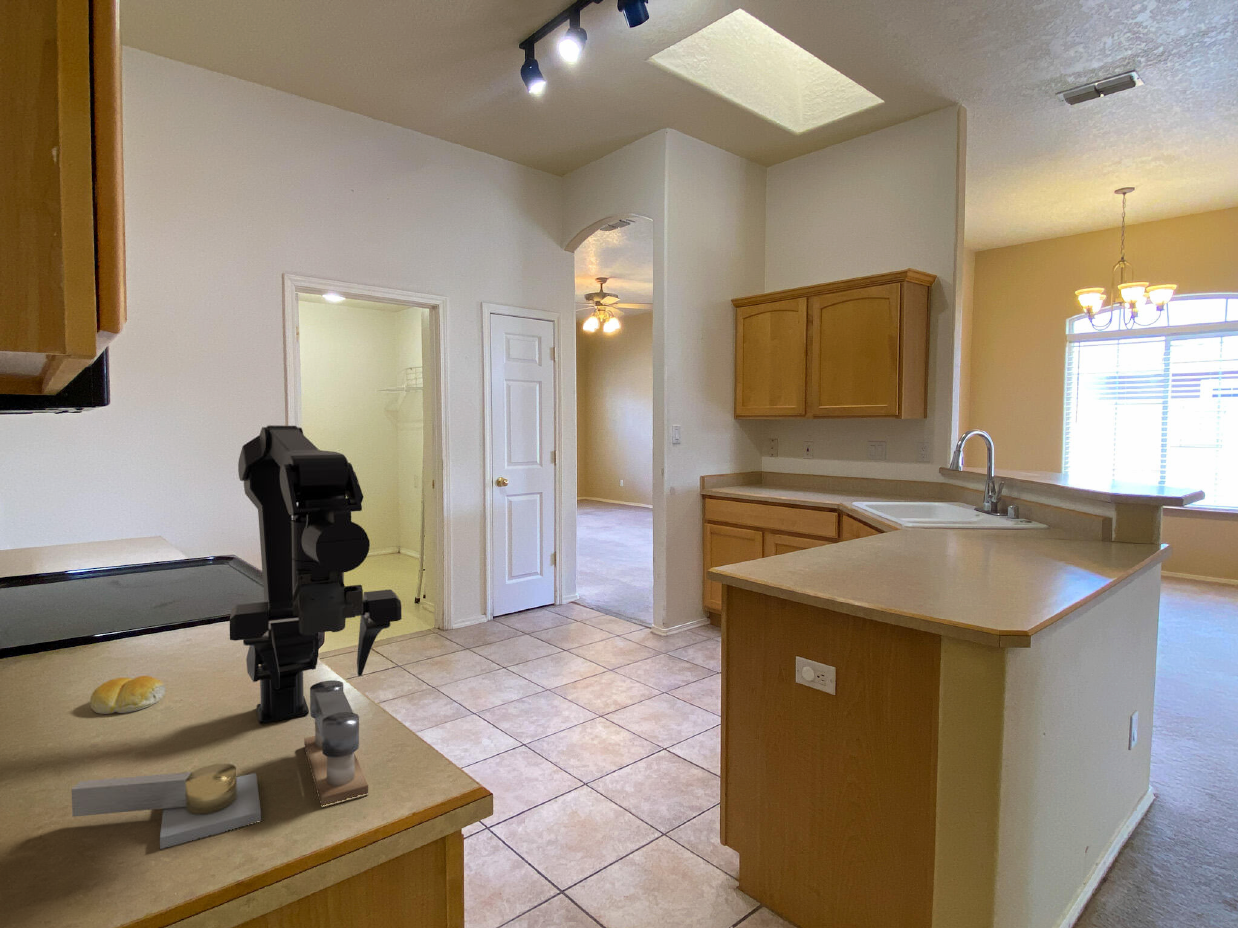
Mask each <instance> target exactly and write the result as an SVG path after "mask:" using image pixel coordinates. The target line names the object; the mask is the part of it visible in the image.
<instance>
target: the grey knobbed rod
mask: <svg viewBox="0 0 1238 928" xmlns="http://www.w3.org/2000/svg"><path fill="white" fill-rule="evenodd" d="M309 695H310V696H309V706H310V710H309V714H310V716H309V717H311V718H313V719H314V721H315V720H316V723H317V726H318V729H319V732H320V735H321V738H322V753H323V754H324V755H325V756H327V757H342V756H346V755H349V754H352V753H353V752H354V753H355V752H357V750H358V749H359V748H360V716H359V714H358V713H356V712H354V711H353V709H352V707H351V705H350V703H349V701H348V698H347V696H346V694H345V692H344V683H343V682H342V681H340V680H333V679H332V680H323V681H320V682H317V683H315V684H312V685H311V686H310V687H309Z"/></svg>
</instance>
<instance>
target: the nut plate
mask: <svg viewBox="0 0 1238 928" xmlns="http://www.w3.org/2000/svg"><path fill="white" fill-rule="evenodd" d="M260 803H261V802H260V794H259V787H258V778H257V773H256V772H254V773H250V774H245V775H240V776H238V777H237V797H236V799H235V800H234V801H233V802H232V803H231V804H230V805H228V806H226V807H224V808H222V809H220V810H217V811H214V812H210V813H204V814H194V813H190V812H188V811H187V810H186V806H184V807H173V808H162V809H163V810H162V818H161V826H160V834H159V835H160V836H159V845H160V846H159V847H160V850H163V849H166V847H167V848H170V847H173V846H174V847H175V846H177V845H181V844H184V843H188V841H189V842H192V840H193V841H195V840H199V839H198V838H200V839H203V837H204V838H207V837H210V836H209V835H211V836H213V835H214V836H215V835H219V834H221V833H224V832H225V831H226V832H229V831H228V830H230V831H233V830H236V829H235V828H237V829H239V828H238V827H241V826H244V827H246V826H245V825H248V824H251V823H255V822H257V821H261V822H262V809H261V804H260ZM255 824H256V823H255ZM248 826H249V825H248ZM241 828H242V827H241ZM232 829H233V830H232ZM226 832H225V833H226Z"/></svg>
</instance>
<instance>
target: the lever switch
mask: <svg viewBox="0 0 1238 928" xmlns="http://www.w3.org/2000/svg"><path fill="white" fill-rule="evenodd" d="M237 776H238V775H237V767H236V766H235V765H234V764H231V763H227V762H226V763H222V762H221V763H213V764H210V765H205V766H203V767H200V768H198V769H195V770H194V771H187V772H186V771H185V772H176V773H175V772H174V773H163V774H151V775H141V776H140V775H138V776H127V777H126V776H125V777H116V778H115V777H114V778H103V779H91V780H80V781H79V782H78V783H77V784H76V785H74V786H73V787H72V788H71V789H70V790H71V813H72V817H73V818H75V817H76V818H77V817H86V816H94V815H95V816H96V815H107V814H116V813H117V814H119V813H129V812H137V811H147V810H148V811H149V810H150V811H151V810H159V809H160V810H162V809H163V808H173V807H184V806H186V810H187V811H188V812H190V813H194V814H204V813H210V812H214V811H217V810H220V809H222V808H224V807H226V806H228V805H230V804H231V803H232V802H233V801H234V800H235V799H236V797H237Z"/></svg>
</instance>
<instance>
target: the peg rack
mask: <svg viewBox="0 0 1238 928" xmlns="http://www.w3.org/2000/svg"><path fill="white" fill-rule="evenodd" d="M314 726H315V727H314V731H315V732H314V733H315V734H314V735H313V736H308V737H304V739H303V744H304V745H305V747H304V750H305V749H306V751H305V753H306V752H307V754H306V757H307V756H308V758H307V761H308V760H309V761H308V764H309V763H310V765H309V767H310V766H311V768H310V771H311V770H312V772H311V775H312V774H313V776H312V778H313V777H314V779H313V781H314V780H315V783H314V785H315V784H316V786H315V789H316V788H317V790H316V792H317V791H318V793H317V795H318V794H319V797H318V799H319V798H320V800H319V802H320V801H321V804H320V806H321V805H322V806H323V805H326V804H330V803H335V802H337V801H342V800H346V799H347V798H352V797H357V796H358V795H363V794H367V793H368V794H369V784H368V782H367V779H366V778H365V775H364V772H363V770H362V768H361V765H360V763H359V761H358V758H357V756H356V753H355V752H353V753H352V754H349V755H346V756H342V757H327V756H325V755H324V754H323V753H322V738H321V735H320V732H319V729H318V726H317V723H316V720H315V719H314ZM304 745H303V746H304Z"/></svg>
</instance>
